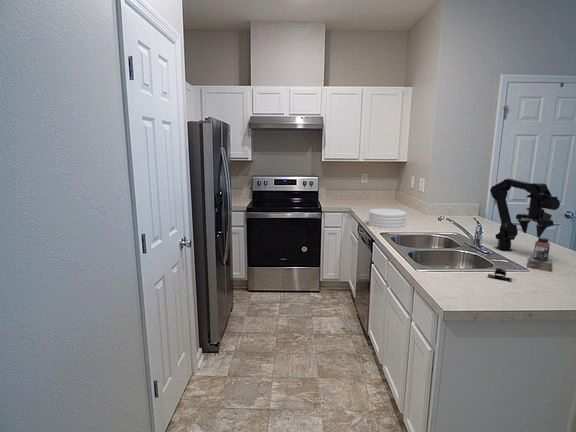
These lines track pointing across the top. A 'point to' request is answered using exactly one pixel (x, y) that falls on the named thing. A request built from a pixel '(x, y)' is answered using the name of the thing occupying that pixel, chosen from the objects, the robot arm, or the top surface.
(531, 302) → the top surface
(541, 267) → the plate
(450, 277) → the top surface
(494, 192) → the robot arm
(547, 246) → the supplement bottle
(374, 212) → the plate stack
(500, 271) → the black bar with hump
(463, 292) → the top surface
